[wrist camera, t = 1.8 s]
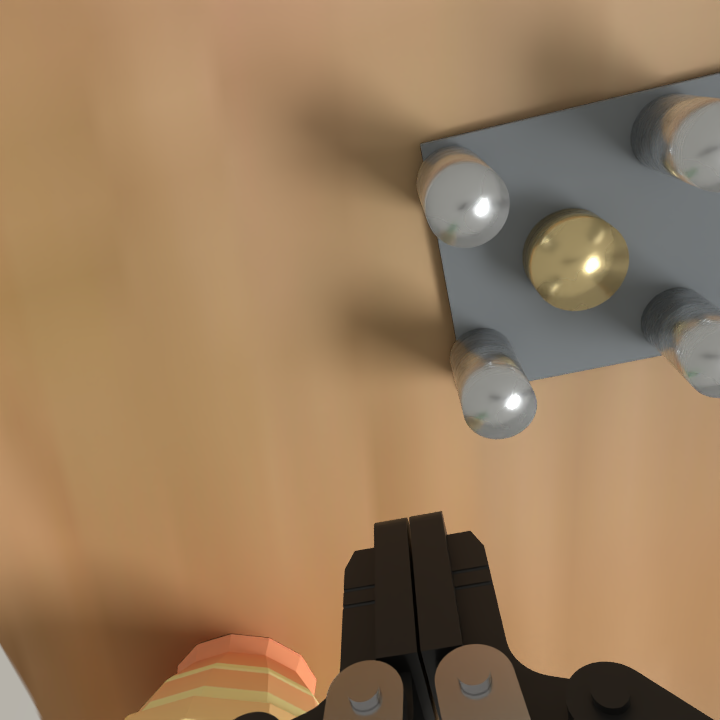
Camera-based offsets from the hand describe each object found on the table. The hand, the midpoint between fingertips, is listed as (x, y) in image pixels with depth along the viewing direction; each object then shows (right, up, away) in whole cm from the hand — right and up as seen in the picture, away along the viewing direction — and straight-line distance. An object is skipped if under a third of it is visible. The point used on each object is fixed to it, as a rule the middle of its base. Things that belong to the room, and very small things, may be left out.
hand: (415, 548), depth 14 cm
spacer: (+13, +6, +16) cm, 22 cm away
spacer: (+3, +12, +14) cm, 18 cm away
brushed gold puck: (+8, +9, +15) cm, 19 cm away
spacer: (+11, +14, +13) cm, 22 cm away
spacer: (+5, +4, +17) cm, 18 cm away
